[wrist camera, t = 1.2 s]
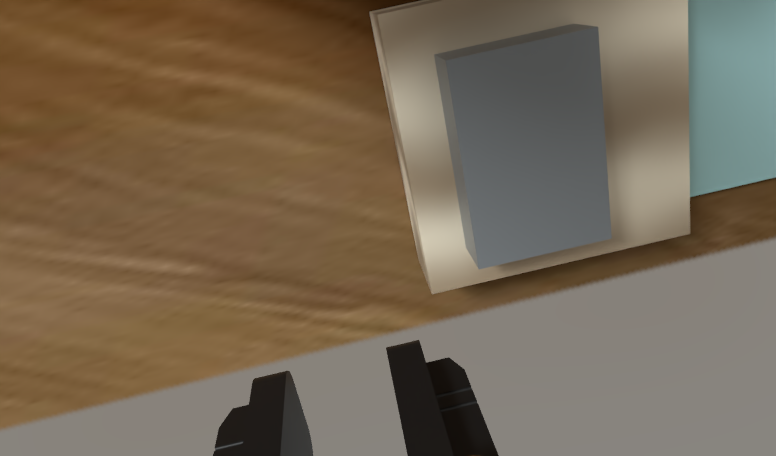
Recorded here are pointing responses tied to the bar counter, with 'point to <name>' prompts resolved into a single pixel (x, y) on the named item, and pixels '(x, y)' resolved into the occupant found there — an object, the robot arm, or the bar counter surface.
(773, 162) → the mat
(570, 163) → the grey rectangular block
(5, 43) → the bar counter surface
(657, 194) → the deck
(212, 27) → the bar counter surface
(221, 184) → the bar counter surface
